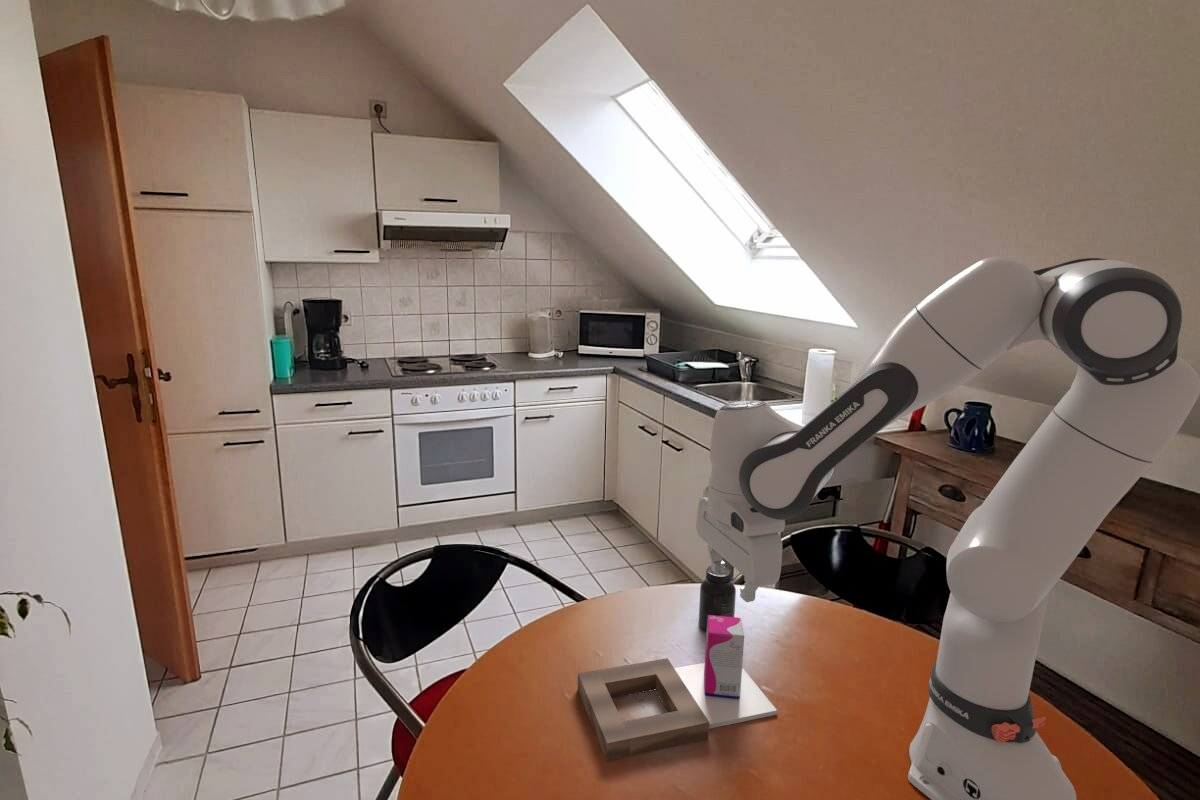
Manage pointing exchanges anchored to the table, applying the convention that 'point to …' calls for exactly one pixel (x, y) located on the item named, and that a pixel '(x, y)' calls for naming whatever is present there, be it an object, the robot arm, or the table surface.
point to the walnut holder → (646, 732)
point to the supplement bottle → (716, 596)
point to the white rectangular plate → (726, 699)
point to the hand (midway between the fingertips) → (731, 584)
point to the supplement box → (723, 657)
